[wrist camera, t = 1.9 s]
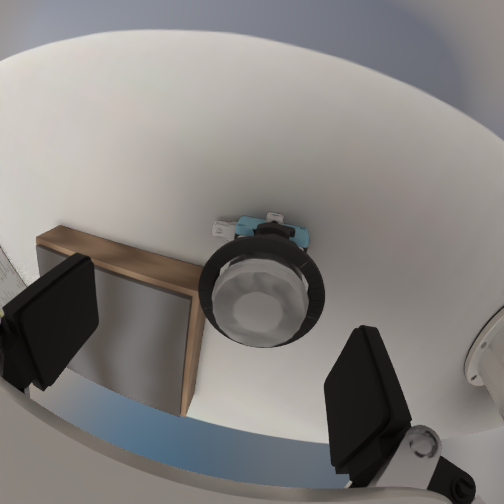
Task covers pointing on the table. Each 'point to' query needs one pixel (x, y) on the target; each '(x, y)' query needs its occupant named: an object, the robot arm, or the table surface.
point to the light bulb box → (8, 282)
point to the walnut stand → (136, 319)
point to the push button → (262, 283)
